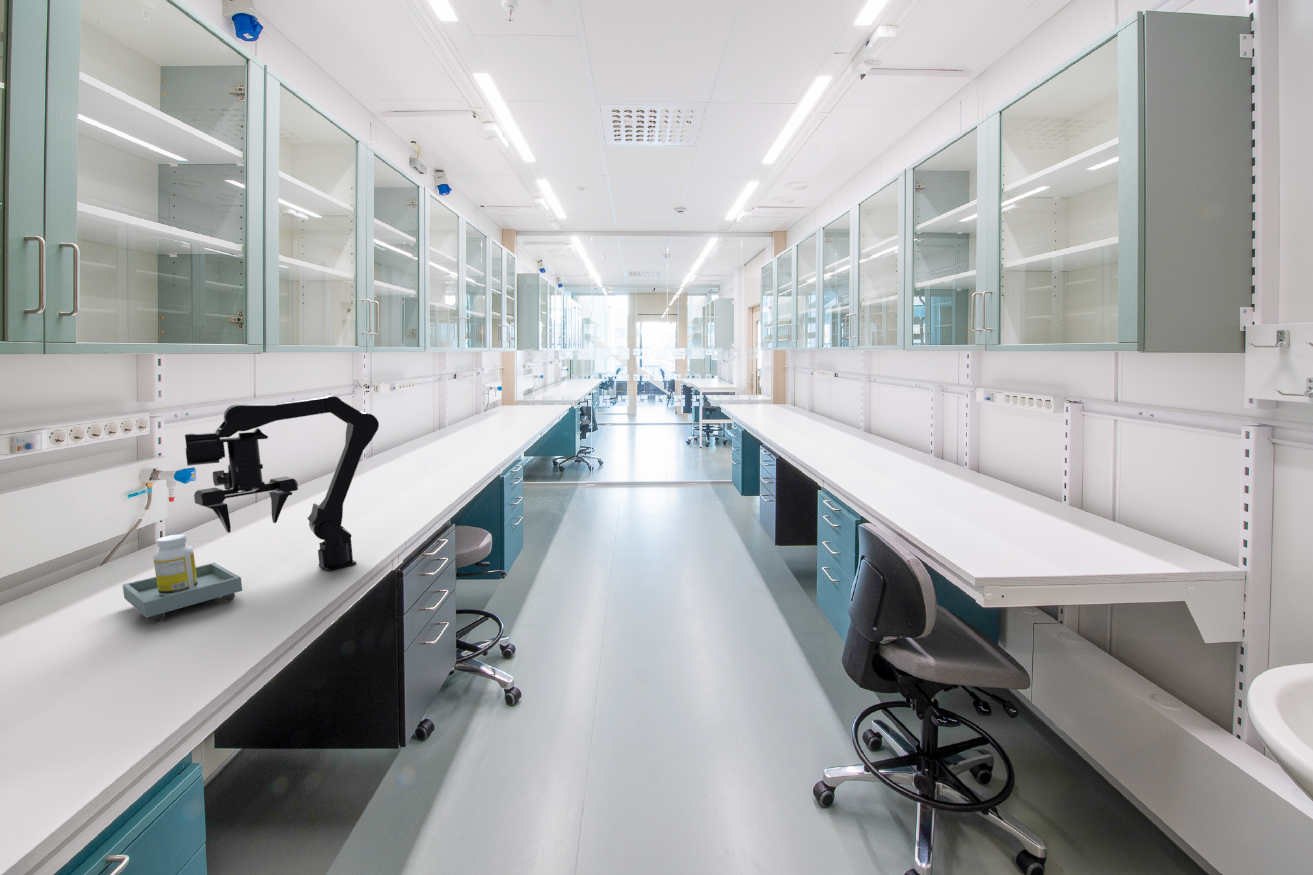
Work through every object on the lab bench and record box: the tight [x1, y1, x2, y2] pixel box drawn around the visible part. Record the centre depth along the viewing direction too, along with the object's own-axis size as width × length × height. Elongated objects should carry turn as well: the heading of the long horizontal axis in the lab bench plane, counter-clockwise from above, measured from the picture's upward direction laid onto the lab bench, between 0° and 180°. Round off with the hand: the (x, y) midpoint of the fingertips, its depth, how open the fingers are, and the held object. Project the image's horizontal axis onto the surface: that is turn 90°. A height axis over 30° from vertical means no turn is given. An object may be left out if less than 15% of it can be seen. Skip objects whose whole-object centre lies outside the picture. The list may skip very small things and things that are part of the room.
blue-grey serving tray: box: [121, 562, 243, 623], centre depth 124 cm, size 16×16×5 cm
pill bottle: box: [152, 533, 198, 596], centre depth 123 cm, size 6×6×12 cm
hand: (252, 527), depth 135 cm, fingers open, 9 cm apart
